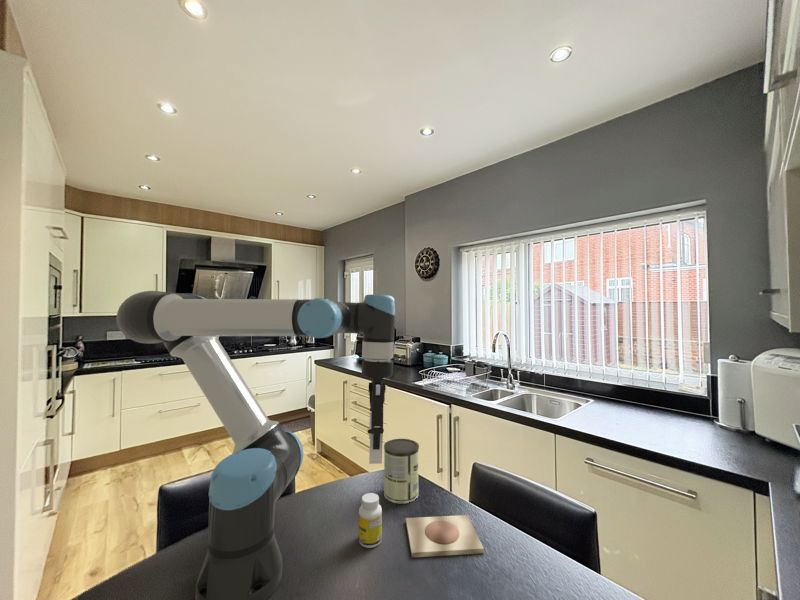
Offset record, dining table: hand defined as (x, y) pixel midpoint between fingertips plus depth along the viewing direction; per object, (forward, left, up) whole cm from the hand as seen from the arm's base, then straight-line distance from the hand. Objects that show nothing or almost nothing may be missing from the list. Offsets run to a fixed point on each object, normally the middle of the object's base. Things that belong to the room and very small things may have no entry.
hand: (374, 449), depth 77 cm
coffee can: (+8, +19, -21) cm, 29 cm away
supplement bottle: (-1, 0, -21) cm, 21 cm away
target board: (+16, 0, -21) cm, 26 cm away
